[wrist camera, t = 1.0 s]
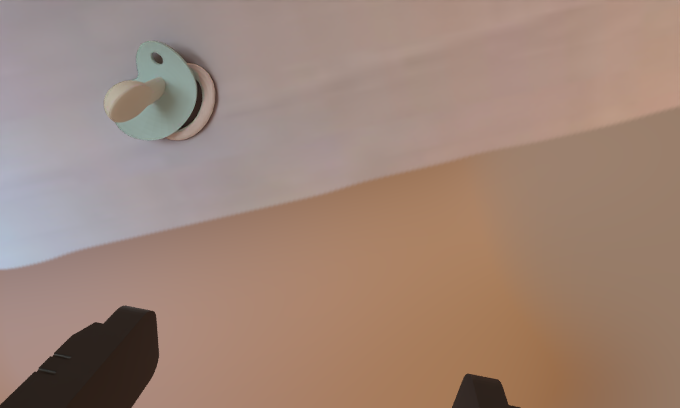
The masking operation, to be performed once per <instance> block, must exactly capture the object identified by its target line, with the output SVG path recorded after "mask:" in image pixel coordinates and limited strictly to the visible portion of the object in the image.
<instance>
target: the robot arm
mask: <svg viewBox="0 0 680 408" xmlns="http://www.w3.org/2000/svg"><path fill="white" fill-rule="evenodd" d="M158 358H159V348H158V335H157V321H156V314H155V312H154V311H150V310H145V309H140V308H135V307H130V306H122V307H120V308H118V309H117V310H116V311H115V312H114V313H113V315H111V317H110V318H108V320H107V321H106V322H105V323H104V324H102V323H97V322H95V323H93V324H92V325H90V326H88V327H86V328H84V329H83V330H81V331H79V332H77V333H76V334H74V335H72V336H71V337H70V338H69V339H68V340H67V341H66V342H65V343H64V344H63V345H62V346H61V347H60V348H59V349H58V350H57V351H56V352H55V353H54V355H53V357H49V358H48V359H47V360H46V361H45V362H44V363H43V364H42V365H41V366H40V367H39V369H38V371H37V372H34V373H33V374H32V375H31V376H30V377H29V378H28V379H27V380H26V381H25V382H23V383H22V384H21V385H20V386H19V387H18V388H17V389H16V390H15V391H14V392H13V393H12V394H11V395H10V396H9V397H8V398H7V399H6V400H5V401H4V402H3V403H2V404H1V405H0V408H131V407H132V406H133V405H134V403H135V401H136V400H137V399H138V397H139V396H140V394H141V393H142V391H143V390H144V388H145V387H146V385H147V384H148V383H149V381H150V379H151V378H152V376H153V374H154V372H155V369H156V366H157V363H158ZM452 408H520V407H515V406H510V405H508V402H507V399H506V396H505V393H504V389H503V387H502V384H501V382H500V381H499V380H497V379H492V378H487V377H482V376H477V375H472V374H466V375H465V377H464V378H463V381H462V384H461V386H460V389H459V391H458V394H457V396H456V399H455V401H454V404H453V406H452Z"/></svg>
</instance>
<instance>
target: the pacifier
mask: <svg viewBox="0 0 680 408" xmlns="http://www.w3.org/2000/svg"><path fill="white" fill-rule="evenodd" d="M153 52H156V53H158V54H159V55H160V56H161V57H162V59H163V63H162V64H159V63H157V62H156V61H155V60H154V58H153ZM136 64H137V70H138V77H137V78H136V79H133V80H129V81H123V82H120V83H118V84H116V85H114V86H113V87H112V88H111V89H110V90H109V91H108V92H107V94H106V96H105V99H104V109H105V112H106V114H107V115H108V117H109V118H110V119H111V120H112V121H114V122H115V123H116V125H117V126H118V127H119V129H120V130H122V131H123V132H124V133H125V134H127V135H129V136H131V137H133V138H136V139H140V140H158V139H162V138H164V137H165V138H168V139H170V140H184V139H187V138H190V137H192V136H194V135H195V134H196V133H198V132H199V131H200V130H201V129H202V128H203V127H204V126H205V124H206V123H207V122H208V120H209V118H210V116H211V114H212V112H213V108H214V104H215V88H214V83H213V81H212V79H211V77H210V75H209V74H208V73H207V72H206V71H205V70H204V69H203V68H202V67H200V66H198V65H196V64H191V63H186V61H185V60H184V59H183V58H182V57H181V56H180V55H179V54H178V53H177V52H176V51H175V50H174V49H172V48H171V47H169V46H168V45H166V44H164V43H162V42H158V41H147V42H144V43H143V44H141V45H140V47H139V49H138V51H137V55H136ZM196 80H197V81H198V82H199V84H200V86H201V90H202V104H201V108H200V111H199V113H198V115H197V117H196V118H195V119H194V121H193V122H192V123H190V124H189V125H187V126H185V127H182V128H180V127H181V126H182V125H183V124H184V123H185V122H186V121H187V119H188V118H189V116H190V115H191V113H192V111H193V109H194V107H195V103H196V99H197V83H196Z"/></svg>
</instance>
